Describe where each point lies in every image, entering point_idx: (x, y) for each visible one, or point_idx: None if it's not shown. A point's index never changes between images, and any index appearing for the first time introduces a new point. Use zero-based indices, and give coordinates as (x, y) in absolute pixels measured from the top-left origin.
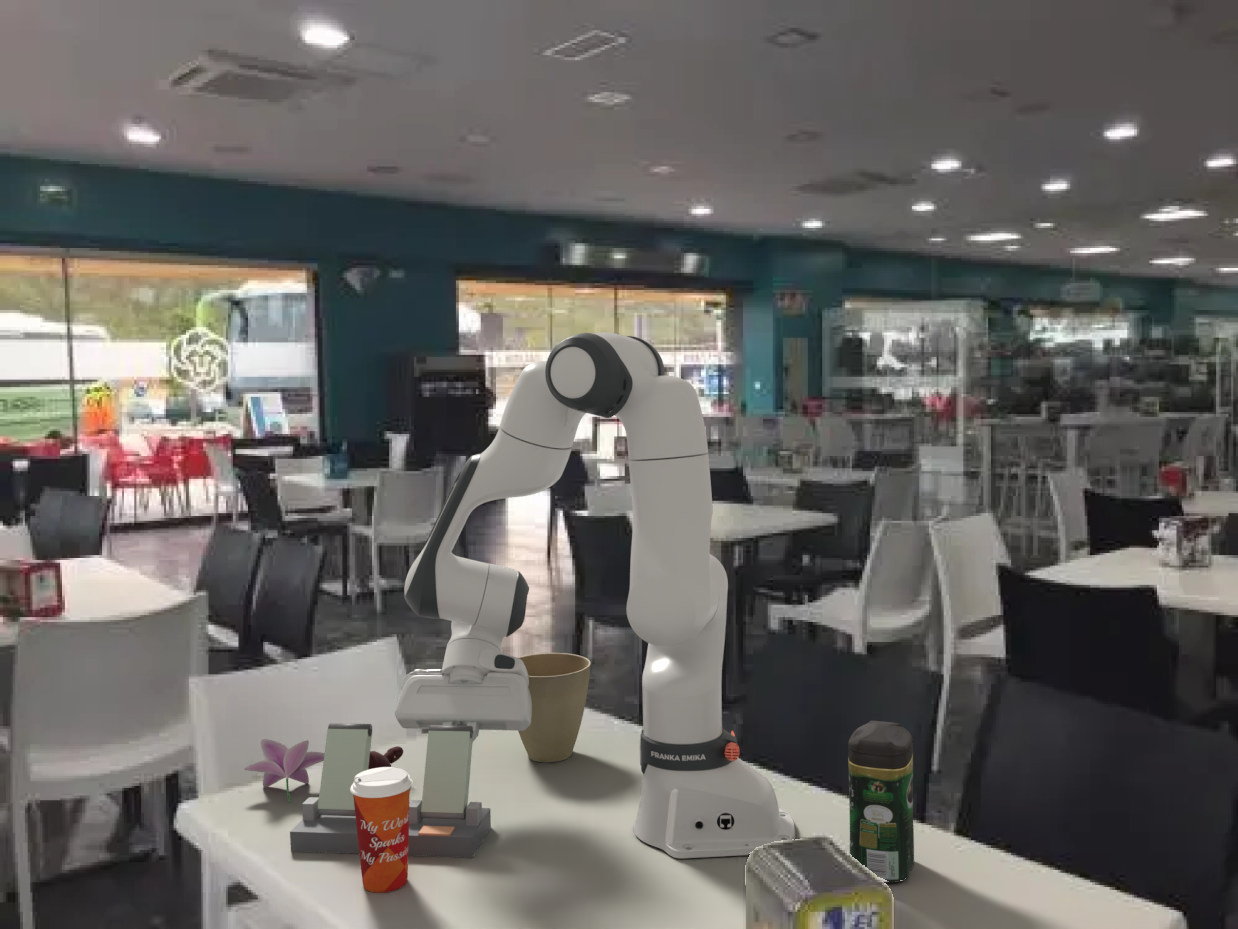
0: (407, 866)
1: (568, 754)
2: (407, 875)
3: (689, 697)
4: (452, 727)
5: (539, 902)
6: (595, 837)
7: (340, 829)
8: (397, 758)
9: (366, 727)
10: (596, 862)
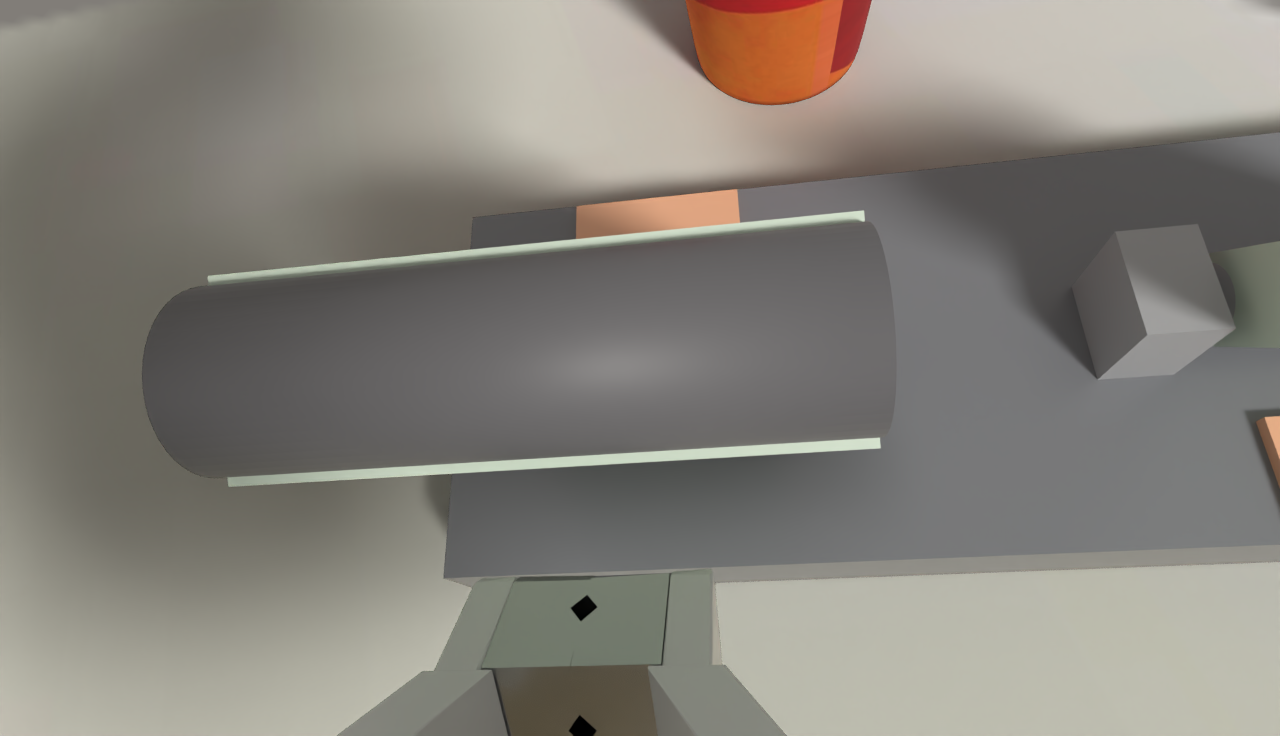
0: (687, 9)
1: None
2: (696, 50)
3: None
4: (455, 276)
5: (243, 47)
6: (3, 536)
7: (1203, 179)
8: None
9: None
10: (40, 314)
